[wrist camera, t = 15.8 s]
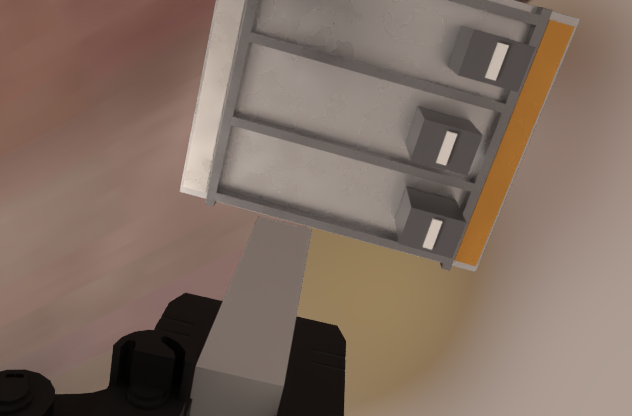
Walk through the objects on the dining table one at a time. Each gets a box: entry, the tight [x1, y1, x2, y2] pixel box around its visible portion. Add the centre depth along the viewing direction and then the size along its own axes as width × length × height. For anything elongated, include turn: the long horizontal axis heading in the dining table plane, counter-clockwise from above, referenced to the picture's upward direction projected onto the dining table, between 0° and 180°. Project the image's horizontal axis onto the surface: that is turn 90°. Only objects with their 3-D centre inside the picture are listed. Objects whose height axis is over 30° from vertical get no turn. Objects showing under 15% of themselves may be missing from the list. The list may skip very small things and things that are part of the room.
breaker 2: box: [448, 26, 536, 92], centre depth 34 cm, size 3×4×4 cm
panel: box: [180, 0, 580, 272], centre depth 38 cm, size 18×22×2 cm
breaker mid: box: [405, 106, 483, 176], centre depth 36 cm, size 3×4×4 cm
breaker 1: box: [395, 187, 467, 258], centre depth 38 cm, size 3×4×4 cm
